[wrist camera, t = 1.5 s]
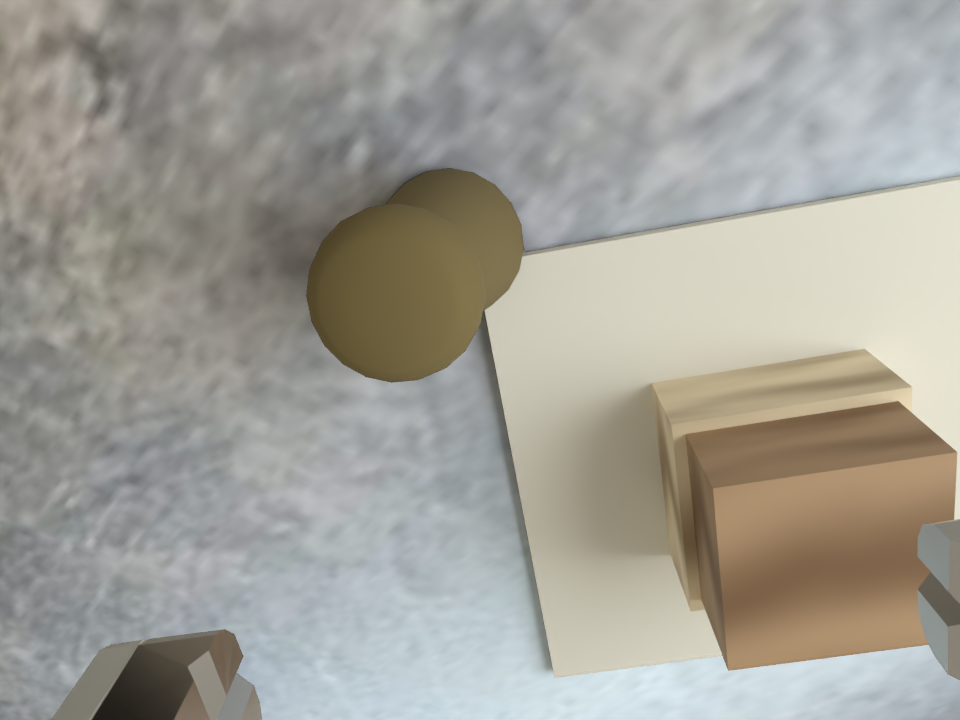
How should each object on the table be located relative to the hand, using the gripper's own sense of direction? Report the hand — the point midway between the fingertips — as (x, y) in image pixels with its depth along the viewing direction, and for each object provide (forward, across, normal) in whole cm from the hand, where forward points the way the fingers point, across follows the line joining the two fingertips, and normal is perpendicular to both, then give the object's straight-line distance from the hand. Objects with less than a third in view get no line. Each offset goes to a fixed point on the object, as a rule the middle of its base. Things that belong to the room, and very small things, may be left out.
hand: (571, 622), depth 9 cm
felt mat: (+24, -9, +12) cm, 29 cm away
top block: (+20, -9, +12) cm, 25 cm away
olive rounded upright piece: (+24, +3, 0) cm, 24 cm away
